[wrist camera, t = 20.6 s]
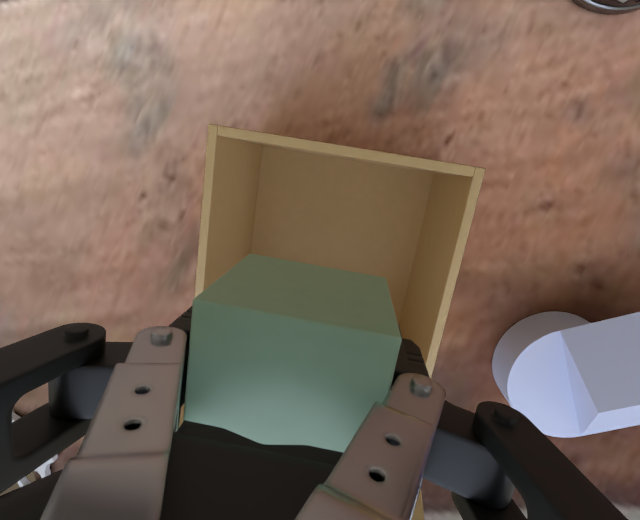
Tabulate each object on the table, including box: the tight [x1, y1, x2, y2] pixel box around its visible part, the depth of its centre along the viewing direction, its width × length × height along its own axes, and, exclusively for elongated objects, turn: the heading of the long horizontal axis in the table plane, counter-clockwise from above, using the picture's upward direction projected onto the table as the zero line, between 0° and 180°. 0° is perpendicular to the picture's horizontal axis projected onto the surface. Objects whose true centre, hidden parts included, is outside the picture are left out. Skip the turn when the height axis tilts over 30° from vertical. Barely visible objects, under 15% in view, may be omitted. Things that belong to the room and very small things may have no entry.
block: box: [183, 254, 402, 453], centre depth 12 cm, size 5×5×5 cm
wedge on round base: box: [492, 311, 640, 437], centre depth 28 cm, size 9×7×13 cm
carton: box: [194, 124, 485, 378], centre depth 26 cm, size 16×14×10 cm
